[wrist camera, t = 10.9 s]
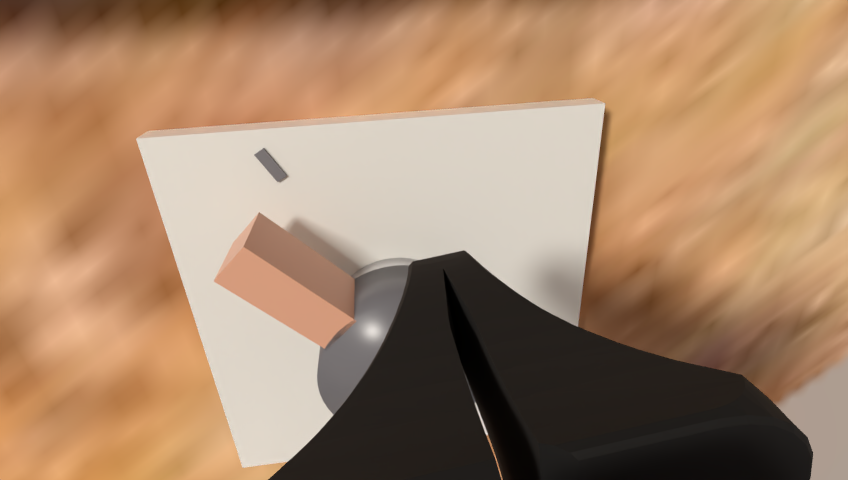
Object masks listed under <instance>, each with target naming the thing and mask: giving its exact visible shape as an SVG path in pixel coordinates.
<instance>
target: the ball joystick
mask: <svg viewBox="0 0 848 480" xmlns="http://www.w3.org/2000/svg"><path fill="white" fill-rule="evenodd" d="M408 267H409V265H395V266H388V267H383V268H379V269H375V270H372V271H370V272H367V273H365V274H363V275H361V276H359V277H357V278H355V279H354V278H353V277H351V276H350V275H349V274H347V273H346V272H344V271H343V270H341V269H340V268H338V267H337V266H336V265H334V264H333V263H331V262H330V261H328V260H327V259H326V258H324V257H323V256H321V255H320V254H318V253H317V252H316V251H314V250H313V249H311V248H310V247H308V246H307V245H306V244H304V243H303V242H301V241H300V240H298V239H297V238H296V237H294V236H293V235H291V234H290V233H288V232H287V231H286V230H284V229H283V228H281V227H280V226H278V225H277V224H276V223H274V222H273V221H271V220H270V219H268V218H267V217H266V216H264V215H263V214H261V213H260V212H259V213H258V214H257V215H256V216H255V217H254V219H253V220H252V221H251V222H250V223H249V225H248V226H247V227H246V228H245V229H244V230H243V232H242V233H241V234H240V235H239V236H238V237H237V239H236V240H235V241H234V242H233V244H232V246H231V248H230V250H229V252H228V254H227V256H226V258H225V260H224V262H223V263H222V265H221V267H220V269H219V271H218V273H217V275H216V277H215V279H214V282H215V283H217V284H219V285H220V286H222V287H224V288H225V289H227V290H229V291H230V292H232V293H234V294H235V295H237V296H239V297H240V298H242V299H243V300H245V301H247V302H248V303H250V304H252V305H253V306H255V307H257V308H258V309H260V310H262V311H263V312H265V313H266V314H268V315H270V316H271V317H273V318H275V319H276V320H278V321H280V322H281V323H283V324H285V325H286V326H288V327H290V328H291V329H293V330H294V331H296V332H298V333H299V334H301V335H303V336H304V337H306V338H308V339H309V340H311V341H313V342H314V343H316V344H318V345H319V346H320V351H319V361H318V370H317V384H318V389H319V392H320V395H321V397H322V400H323V402H324V403H325V405H326V406H327V408H328V409H329V410H330V411H331V412H332V414H333V415H334V414H335V413H336V412H337V410H338V409H339V408H340V407H341V406H342V404H343V403H344V402H345V401H346V399H347V398H348V397H349V395H350V394H351V393H352V391H353V390H354V388H355V387H356V385H357V384H358V382H359V381H360V380H361V378H362V377H363V375H364V374H365V372H366V371H367V369H368V367H369V366H370V364H371V363H372V361H373V359H374V358H375V356H376V354H377V352H378V350H379V349H380V347H381V345H382V343H383V341H384V339H385V337H386V335H387V332H388V330H389V328H390V326H391V324H392V321H393V319H394V317H395V314H396V312H397V309H398V306H399V303H400V301H401V298H402V295H403V292H404V288H405V285H406V281H407V276H408ZM465 377H466V375H465ZM466 380H467V378H466ZM467 383H468V381H467ZM468 386H469V383H468ZM469 389H470V391H471V388H470V386H469ZM471 394H472V391H471ZM472 397H473V400H474V403H475V402H476V401H475V399H474V396H473V394H472Z"/></svg>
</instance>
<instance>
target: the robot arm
mask: <svg viewBox="0 0 848 480" xmlns="http://www.w3.org/2000/svg"><path fill="white" fill-rule="evenodd" d="M465 375H466V377H465ZM466 378H467V380H466ZM467 381H468V383H469V386H470V388H471V391H472V394H473V396H474V399H475V401H476V404H477V407H478V409H479V412H480V414H481V417H482V420H483V422H484V425H485V427H486V430H487V433H488V435H489V438H490V440H491V443H492V446H493V449H494V452H495V455H496V458H497V461H498V464H499V467H500V471H501V475H502V478H503V480H810V476H811V468H812V459H813V452H812V449H811V446H810V444H809V440H808V438H807V437H806V435H805V434H803V433H802V432H801V431H800V430H799V429H798V428H797V427H796V426H795V425H794V424H793V423H792V422H791V421H790V420H789V419H788V418H787V417H786V416H785V414H784V413H783V412H782V411H781V410H780V409H779V408H778V407H777V406H776V405H775V404H774V403H773V402H772V401H771V400H770V399H769V398H768V397H767V396H765V395H764V394H763V393H762V392H761V391H760V390H759V389H757V388H756V387H755V386H754V385H753V384H752V383H751V382H749V381H748V380H747V379H746V378H745V377H744V376H742V375H740V374H735V373H731V372H726V371H721V370H717V369H712V368H708V367H703V366H699V365H694V364H689V363H685V362H680V361H676V360H672V359H669V358H665V357H662V356H658V355H655V354H652V353H648V352H645V351H641V350H638V349H635V348H632V347H629V346H626V345H623V344H620V343H617V342H614V341H612V340H609V339H607V338H604V337H602V336H599V335H596V334H594V333H591V332H589V331H586V330H584V329H582V328H580V327H577V326H575V325H573V324H571V323H569V322H567V321H565V320H563V319H561V318H559V317H557V316H555V315H553V314H551V313H549V312H547V311H545V310H544V309H542V308H540V307H538V306H537V305H535V304H534V303H532V302H530V301H529V300H527V299H526V298H524V297H523V296H521V295H520V294H518V293H517V292H515V291H514V290H513V289H511V288H510V287H509V286H507V285H506V284H505V283H503V282H502V281H501V280H499V279H498V278H497V277H495V276H494V275H493V274H492V273H490V272H489V271H488V270H487V269H486V268H484V267H483V266H482V265H481V264H480V263H479V262H478V261H476V260H475V259H474V258H473V257H472V256H471V255H470V254H469V253H467V252H466V251H464V250H463V251H459V252H454V253H449V254H445V255H440V256H436V257H431V258H426V259H422V260H417V261H412V263H411V264H410V265H409V267H408V276H407V281H406V285H405V288H404V292H403V295H402V298H401V301H400V303H399V306H398V309H397V312H396V314H395V317H394V319H393V321H392V324H391V326H390V328H389V330H388V332H387V335H386V337H385V339H384V341H383V343H382V345H381V347H380V349H379V350H378V352H377V354H376V356H375V358H374V359H373V361H372V363H371V364H370V366H369V367H368V369H367V371H366V372H365V374H364V375H363V377H362V378H361V380H360V381H359V382H358V384H357V385H356V387H355V388H354V390H353V391H352V393H351V394H350V395H349V397H348V398H347V399H346V401H345V402H344V403H343V404H342V406H341V407H340V408H339V409H338V410H337V412H336V413H335V414H334V415H333V416H332V417H331V418H330V420H329V421H328V422H327V423H326V424H325V425H324V427H323V428H322V429H321V430H320V431H319V432H318V433H317V434H316V435H315V436H314V437H313V438H312V439H311V440H310V441H309V442H308V443H307V444H306V445H305V446H304V447H303V448H302V449H301V450H300V451H299V452H298V453H297V454H296V455H295V456H294V457H292V458H291V459H290V460H289V461H288V462H287V463H286V464H285V465H284V466H283V467H282V468H281V469H280V470H279V471H277V472H276V473H275V474H274V475H273V476H272V477H271V478H270V479H268V480H501V477H500V474H499V470H498V467H497V464H496V460H495V457H494V455H493V452H492V450H491V447H490V444H489V442H488V439H487V436H486V434H485V431H484V428H483V426H482V423H481V420H480V417H479V415H478V412H477V409H476V406H475V403H474V400H473V397H472V394H471V391H470V389H469V386H468V383H467Z"/></svg>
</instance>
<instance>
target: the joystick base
mask: <svg viewBox="0 0 848 480" xmlns="http://www.w3.org/2000/svg"><path fill="white" fill-rule="evenodd" d="M604 110H605V103H603V102H601V101H599V100H597V99H594V98H586V99H573V100H559V101H546V102H532V103H518V104H505V105H491V106H478V107H464V108H451V109H437V110H424V111H410V112H397V113H383V114H370V115H356V116H343V117H329V118H316V119H302V120H289V121H275V122H262V123H248V124H235V125H221V126H208V127H194V128H181V129H167V130H154V131H147V132H145V133H144V134H142V135H141V136H139V137H138V138H136V140H137V143H138V146H139V149H140V152H141V155H142V158H143V161H144V164H145V167H146V171H147V174H148V177H149V180H150V183H151V186H152V189H153V192H154V195H155V198H156V201H157V205H158V208H159V211H160V214H161V217H162V220H163V223H164V226H165V229H166V232H167V235H168V239H169V242H170V245H171V248H172V251H173V254H174V257H175V260H176V263H177V266H178V269H179V272H180V276H181V279H182V282H183V285H184V288H185V291H186V294H187V297H188V300H189V303H190V306H191V310H192V313H193V316H194V319H195V322H196V325H197V328H198V331H199V334H200V337H201V340H202V344H203V347H204V350H205V353H206V356H207V359H208V362H209V365H210V368H211V371H212V374H213V377H214V381H215V384H216V387H217V390H218V393H219V396H220V399H221V402H222V405H223V408H224V411H225V415H226V418H227V421H228V424H229V427H230V430H231V433H232V436H233V439H234V442H235V445H236V449H237V452H238V455H239V458H240V461H241V464H242V467H243V468H244V467H251V466H259V465H266V464H274V463H281V462H288V461H289V460H290V459H291V458H292V457H294V456H295V455H296V454H297V453H298V452H299V451H300V450H301V449H302V448H303V447H304V446H305V445H306V444H307V443H308V442H309V441H310V440H311V439H312V438H313V437H314V436H315V435H316V434H317V433H318V432H319V431H320V430H321V429H322V428H323V427H324V425H325V424H326V423H327V422H328V421H329V420H330V418H331V417H332V416H333V414H332V412H331V411H330V410H329V409H328V408H327V406H326V405H325V403H324V402H323V400H322V397H321V395H320V392H319V389H318V384H317V370H318V361H319V351H320V346H319V345H318V344H316V343H314V342H313V341H311V340H309V339H308V338H306V337H304V336H303V335H301V334H299V333H298V332H296V331H294V330H293V329H291V328H290V327H288V326H286V325H285V324H283V323H281V322H280V321H278V320H276V319H275V318H273V317H271V316H270V315H268V314H266V313H265V312H263V311H262V310H260V309H258V308H257V307H255V306H253V305H252V304H250V303H248V302H247V301H245V300H243V299H242V298H240V297H239V296H237V295H235V294H234V293H232V292H230V291H229V290H227V289H225V288H224V287H222V286H220V285H219V284H217V283H215V282H214V279H215V277H216V275H217V273H218V271H219V269H220V267H221V265H222V263H223V262H224V260H225V258H226V256H227V254H228V252H229V250H230V248H231V246H232V244H233V242H234V241H235V240H236V239H237V237H238V236H239V235H240V234H241V233H242V232H243V230H244V229H245V228H246V227H247V226H248V225H249V223H250V222H251V221H252V220H253V219H254V217H255V216H256V215H257V214H258V213H259V212H260V213H261V214H263V215H264V216H266V217H267V218H268V219H270V220H271V221H273V222H274V223H276V224H277V225H278V226H280V227H281V228H283V229H284V230H286V231H287V232H288V233H290V234H291V235H293V236H294V237H296V238H297V239H298V240H300V241H301V242H303V243H304V244H306V245H307V246H308V247H310V248H311V249H313V250H314V251H316V252H317V253H318V254H320V255H321V256H323V257H324V258H326V259H327V260H328V261H330V262H331V263H333V264H334V265H336V266H337V267H338V268H340V269H341V270H343V271H344V272H346V273H347V274H349V275H350V276H351V277H353V278H354V279H355V278H357V277H359V276H361V275H363V274H365V273H367V272H370V271H372V270H375V269H379V268H383V267H388V266H395V265H410V264H411V263H412V261H417V260H422V259H426V258H431V257H436V256H440V255H445V254H449V253H454V252H459V251H463V250H464V251H466V252H467V253H469V254H470V255H471V256H472V257H473V258H474V259H475V260H476V261H478V262H479V263H480V264H481V265H482V266H483V267H484V268H486V269H487V270H488V271H489V272H490V273H492V274H493V275H494V276H495V277H497V278H498V279H499V280H501V281H502V282H503V283H505V284H506V285H507V286H509V287H510V288H511V289H513V290H514V291H515V292H517V293H518V294H520V295H521V296H523V297H524V298H526V299H527V300H529V301H530V302H532V303H534V304H535V305H537V306H538V307H540V308H542V309H544V310H545V311H547V312H549V313H551V314H553V315H555V316H557V317H559V318H561V319H563V320H565V321H567V322H569V323H571V324H573V325H575V326H577V327H578V322H579V314H580V306H581V298H582V289H583V281H584V273H585V265H586V257H587V249H588V240H589V232H590V224H591V216H592V208H593V200H594V191H595V183H596V175H597V167H598V159H599V151H600V142H601V134H602V126H603V118H604ZM475 406H476V409H477V412H478V415H479V417H480V420H481V423H482V426H483V428H484V431H485V434H486V435H488V433H487V430H486V427H485V425H484V422H483V420H482V417H481V414H480V412H479V409H478V407H477V404H476V402H475Z"/></svg>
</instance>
